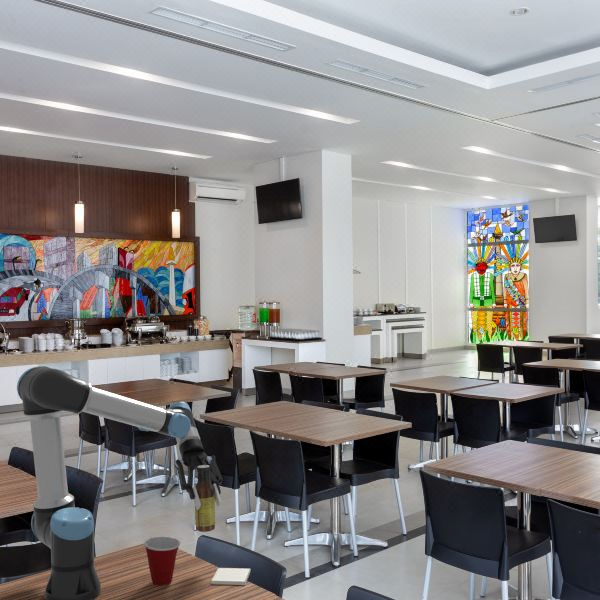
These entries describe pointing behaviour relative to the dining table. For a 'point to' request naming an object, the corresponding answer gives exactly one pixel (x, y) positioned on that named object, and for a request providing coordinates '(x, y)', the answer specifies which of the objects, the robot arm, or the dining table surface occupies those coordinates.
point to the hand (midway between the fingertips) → (209, 505)
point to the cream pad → (231, 576)
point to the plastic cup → (161, 558)
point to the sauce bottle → (205, 501)
